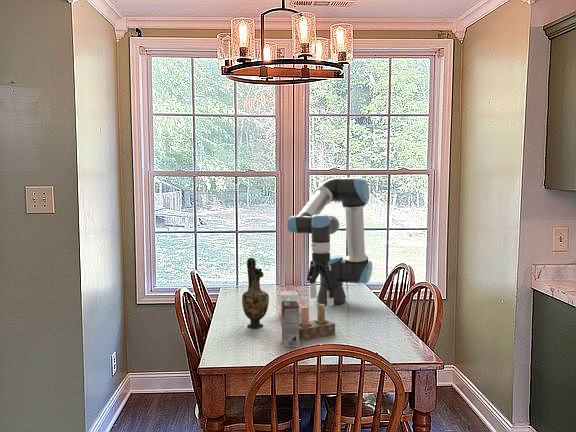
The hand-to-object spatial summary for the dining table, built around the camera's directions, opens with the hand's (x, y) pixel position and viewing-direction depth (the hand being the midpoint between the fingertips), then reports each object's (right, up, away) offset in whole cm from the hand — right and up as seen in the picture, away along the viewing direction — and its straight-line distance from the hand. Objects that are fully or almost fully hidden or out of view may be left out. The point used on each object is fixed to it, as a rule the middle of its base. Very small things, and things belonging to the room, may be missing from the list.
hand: (321, 301), depth 230 cm
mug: (-14, -11, +29) cm, 34 cm away
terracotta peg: (-7, -14, -3) cm, 16 cm away
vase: (-28, -13, +12) cm, 33 cm away
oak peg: (0, -13, +1) cm, 13 cm away
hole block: (-4, -13, -1) cm, 14 cm away
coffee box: (-13, -15, -12) cm, 23 cm away
